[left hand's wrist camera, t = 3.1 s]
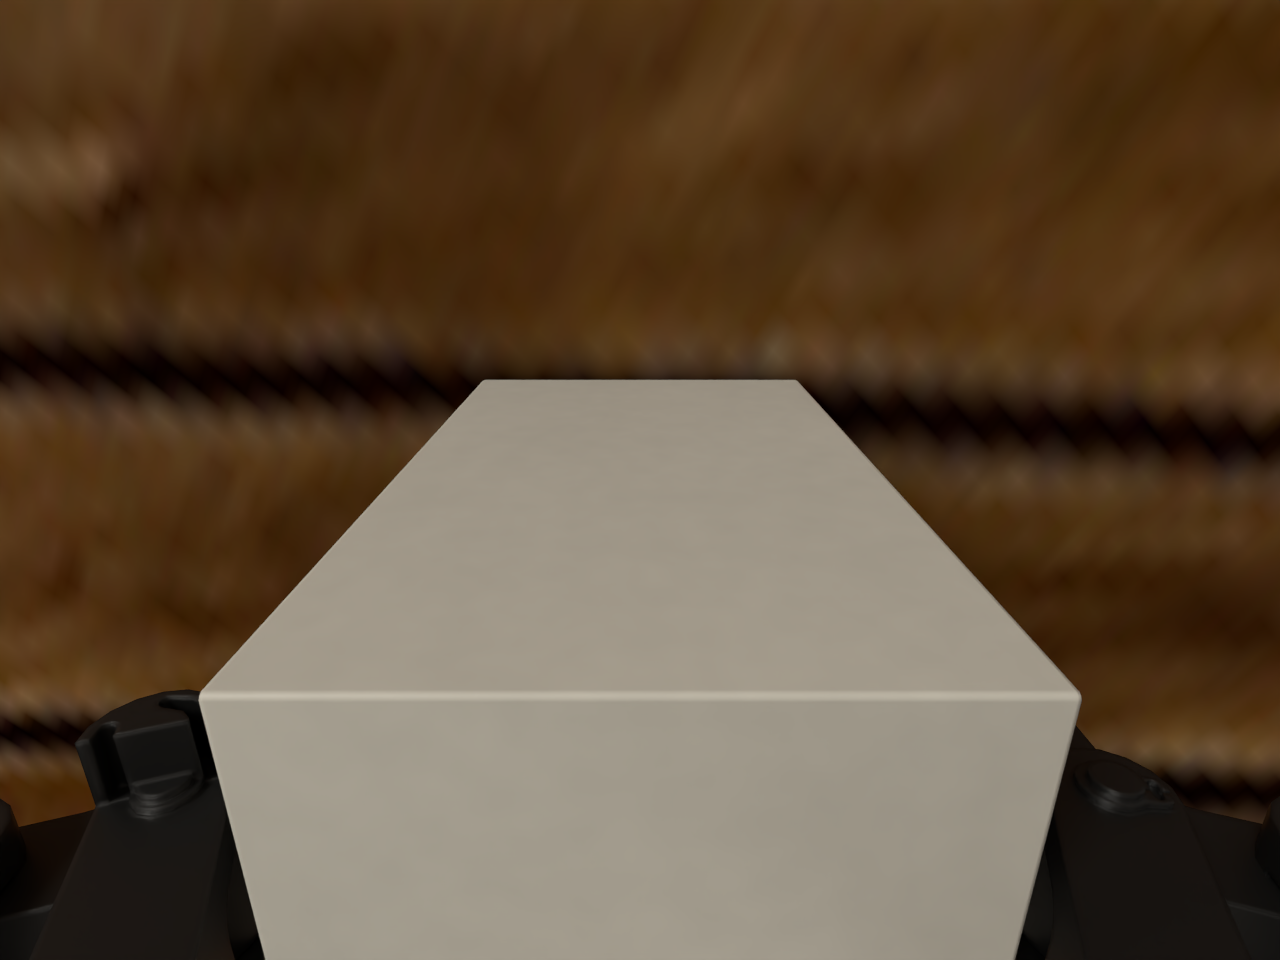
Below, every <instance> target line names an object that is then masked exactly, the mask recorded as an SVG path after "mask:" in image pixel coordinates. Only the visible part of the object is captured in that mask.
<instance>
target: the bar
mask: <svg viewBox="0 0 1280 960" xmlns="http://www.w3.org/2000/svg"><path fill="white" fill-rule="evenodd" d="M1081 701H1082V699H1081V694H1080V692H1079V691H1078V690H1077V689H1076V687H1075V686H1074V685H1073V684H1072V683H1071V682H1070V681H1069V680H1068V679H1067V677H1066V676H1065V675H1064V674H1063V673H1062V672H1061V671H1060V670H1059V669H1058V668H1057V666H1056V665H1055V664H1054V663H1053V662H1052V661H1051V660H1050V659H1049V658H1048V657H1047V655H1046V654H1045V653H1044V652H1043V651H1042V650H1041V649H1040V648H1039V647H1038V646H1037V644H1036V643H1035V642H1034V641H1033V640H1032V639H1031V638H1030V637H1029V636H1028V635H1027V633H1026V632H1025V631H1024V630H1023V629H1022V628H1021V627H1020V626H1019V625H1018V623H1017V622H1016V621H1015V620H1014V619H1013V618H1012V617H1011V616H1010V615H1009V614H1008V612H1007V611H1006V610H1005V609H1004V608H1003V607H1002V606H1001V605H1000V604H999V603H998V601H997V600H996V599H995V598H994V597H993V596H992V595H991V594H990V593H989V592H988V590H987V589H986V588H985V587H984V586H983V585H982V584H981V583H980V582H979V581H978V579H977V578H976V577H975V576H974V575H973V574H972V573H971V572H970V571H969V569H968V568H967V567H966V566H965V565H964V564H963V563H962V562H961V561H960V560H959V558H958V557H957V556H956V555H955V554H954V553H953V552H952V551H951V550H950V549H949V547H948V546H947V545H946V544H945V543H944V542H943V541H942V540H941V539H940V538H939V536H938V535H937V534H936V533H935V532H934V531H933V530H932V529H931V528H930V527H929V525H928V524H927V523H926V522H925V521H924V520H923V519H922V518H921V517H920V515H919V514H918V513H917V512H916V511H915V510H914V509H913V508H912V507H911V506H910V504H909V503H908V502H907V501H906V500H905V499H904V498H903V497H902V496H901V495H900V493H899V492H898V491H897V490H896V489H895V488H894V487H893V486H892V485H891V484H890V482H889V481H888V480H887V479H886V478H885V477H884V476H883V475H882V474H881V473H880V471H879V470H878V469H877V468H876V467H875V466H874V465H873V464H872V463H871V461H870V460H869V459H868V458H867V457H866V456H865V455H864V454H863V453H862V452H861V450H860V449H859V448H858V447H857V446H856V445H855V444H854V443H853V442H852V441H851V439H850V438H849V437H848V436H847V435H846V434H845V433H844V432H843V431H842V430H841V428H840V427H839V426H838V425H837V424H836V423H835V422H834V421H833V420H832V419H831V417H830V416H829V415H828V414H827V413H826V412H825V411H824V410H823V409H822V407H821V406H820V405H819V404H818V403H817V402H816V401H815V400H814V399H813V398H812V396H811V395H810V394H809V393H808V392H807V391H806V390H805V389H804V388H803V387H802V385H801V384H800V383H799V382H798V381H797V380H484V381H482V382H481V384H480V385H479V386H478V387H477V388H476V389H475V390H474V391H473V392H472V393H471V395H470V396H469V397H468V398H467V399H466V400H465V401H464V402H463V403H462V404H461V406H460V407H459V408H458V409H457V410H456V411H455V412H454V413H453V414H452V415H451V417H450V418H449V419H448V420H447V421H446V422H445V423H444V424H443V425H442V427H441V428H440V429H439V430H438V431H437V432H436V433H435V434H434V435H433V436H432V438H431V439H430V440H429V441H428V442H427V443H426V444H425V445H424V446H423V447H422V449H421V450H420V451H419V452H418V453H417V454H416V455H415V456H414V457H413V458H412V460H411V461H410V462H409V463H408V464H407V465H406V466H405V467H404V468H403V469H402V471H401V472H400V473H399V474H398V475H397V476H396V477H395V478H394V479H393V481H392V482H391V483H390V484H389V485H388V486H387V487H386V488H385V489H384V490H383V492H382V493H381V494H380V495H379V496H378V497H377V498H376V499H375V500H374V501H373V503H372V504H371V505H370V506H369V507H368V508H367V509H366V510H365V511H364V512H363V514H362V515H361V516H360V517H359V518H358V519H357V520H356V521H355V522H354V523H353V525H352V526H351V527H350V528H349V529H348V530H347V531H346V532H345V533H344V535H343V536H342V537H341V538H340V539H339V540H338V541H337V542H336V543H335V544H334V546H333V547H332V548H331V549H330V550H329V551H328V552H327V553H326V554H325V555H324V557H323V558H322V559H321V560H320V561H319V562H318V563H317V564H316V565H315V566H314V568H313V569H312V570H311V571H310V572H309V573H308V574H307V575H306V576H305V577H304V579H303V580H302V581H301V582H300V583H299V584H298V585H297V586H296V587H295V589H294V590H293V591H292V592H291V593H290V594H289V595H288V596H287V597H286V598H285V600H284V601H283V602H282V603H281V604H280V605H279V606H278V607H277V608H276V609H275V611H274V612H273V613H272V614H271V615H270V616H269V617H268V618H267V619H266V620H265V622H264V623H263V624H262V625H261V626H260V627H259V628H258V629H257V630H256V631H255V633H254V634H253V635H252V636H251V637H250V638H249V639H248V640H247V641H246V643H245V644H244V645H243V646H242V647H241V648H240V649H239V650H238V651H237V652H236V654H235V655H234V656H233V657H232V658H231V659H230V660H229V661H228V662H227V663H226V665H225V666H224V667H223V668H222V669H221V670H220V671H219V672H218V673H217V674H216V676H215V677H214V678H213V679H212V680H211V681H210V682H209V683H208V684H207V685H206V687H205V688H204V689H203V690H202V691H201V693H200V695H199V704H200V708H201V712H202V716H203V719H204V723H205V727H206V731H207V735H208V739H209V743H210V747H211V751H212V754H213V758H214V762H215V766H216V770H217V774H218V778H219V782H220V786H221V789H222V793H223V797H224V801H225V805H226V809H227V813H228V817H229V820H230V824H231V828H232V832H233V836H234V840H235V844H236V848H237V852H238V855H239V859H240V863H241V867H242V871H243V875H244V879H245V883H246V887H247V890H248V894H249V898H250V902H251V906H252V910H253V914H254V918H255V921H256V925H257V929H258V933H259V937H260V941H261V945H262V949H263V953H264V956H265V960H1015V958H1016V954H1017V950H1018V946H1019V942H1020V938H1021V934H1022V930H1023V927H1024V923H1025V919H1026V915H1027V911H1028V907H1029V903H1030V899H1031V896H1032V892H1033V888H1034V884H1035V880H1036V876H1037V872H1038V868H1039V864H1040V861H1041V857H1042V853H1043V849H1044V845H1045V841H1046V837H1047V833H1048V830H1049V826H1050V822H1051V818H1052V814H1053V810H1054V806H1055V802H1056V798H1057V795H1058V791H1059V787H1060V783H1061V779H1062V775H1063V771H1064V767H1065V764H1066V760H1067V756H1068V752H1069V748H1070V744H1071V740H1072V736H1073V732H1074V729H1075V725H1076V721H1077V717H1078V713H1079V709H1080V705H1081Z"/></svg>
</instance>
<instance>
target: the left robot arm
mask: <svg viewBox="0 0 1280 960" xmlns="http://www.w3.org/2000/svg"><path fill="white" fill-rule="evenodd" d="M200 693H201V692H200V691H194V690H178V691H166V692H161V693H158V694H154V695H150V696H147V697H143V698H139V699H136V700H134V701H132V702H130V703H128V704H125V705H123V706H121V707H119V708H117V709H114V710H112V711H110V712H109V713H107V714H106V715H105V716H103V717H102V718H100V719H99V720H97V721H96V722H95V723H93V724H92V725H90V726H89V727H88V728H87V729H86V730H85V732H84V733H83V734H82V735H81V736H80V738H79V739H78V740H77V741H76V742H75V746H76V749H77V751H78V754H79V757H80V760H81V763H82V766H83V769H84V772H85V775H86V778H87V781H88V784H89V787H90V790H91V793H92V796H93V799H94V802H95V805H96V807H95V809H94V810H91V811H87V812H84V813H79V814H75V815H71V816H66V817H62V818H57V819H53V820H48V821H44V822H39V823H35V824H31V825H26V826H22V827H18V824H17V822H16V819H15V816H14V814H13V811H12V809H11V806H10V805H9V804H7V803H6V802H4V801H3V800H2V799H0V960H265V956H264V953H263V949H262V945H261V941H260V937H259V933H258V929H257V925H256V921H255V918H254V914H253V910H252V906H251V902H250V898H249V894H248V890H247V887H246V883H245V879H244V875H243V871H242V867H241V863H240V859H239V855H238V852H237V848H236V844H235V840H234V836H233V832H232V828H231V824H230V820H229V817H228V813H227V809H226V805H225V801H224V797H223V793H222V789H221V786H220V782H219V778H218V774H217V770H216V766H215V762H214V758H213V754H212V751H211V747H210V743H209V739H208V735H207V731H206V727H205V723H204V719H203V716H202V712H201V708H200V704H199V695H200ZM1015 960H1280V796H1279V797H1278V798H1277V799H1275V800H1274V801H1272V802H1271V804H1270V806H1269V809H1268V811H1267V814H1266V816H1265V819H1264V822H1263V824H1260V823H1255V822H1251V821H1246V820H1242V819H1237V818H1233V817H1228V816H1224V815H1219V814H1215V813H1210V812H1206V811H1201V810H1197V809H1193V808H1190V807H1187V806H1184V804H1183V803H1182V801H1181V800H1180V799H1179V797H1178V796H1177V794H1176V793H1175V792H1174V790H1173V789H1172V787H1170V786H1169V785H1168V784H1167V783H1165V782H1164V781H1163V780H1162V779H1160V778H1159V777H1158V776H1157V775H1156V774H1154V773H1153V772H1152V771H1150V770H1148V769H1147V768H1145V767H1143V766H1141V765H1139V764H1137V763H1135V762H1133V761H1131V760H1129V759H1127V758H1125V757H1122V756H1119V755H1116V754H1112V753H1109V752H1106V751H1103V750H1098V749H1095V748H1094V747H1093V745H1092V744H1091V743H1090V742H1089V741H1088V739H1087V738H1086V737H1085V736H1084V735H1083V734H1082V732H1081V731H1080V730H1079V729H1078V728H1077V726H1076V725H1075V729H1074V732H1073V736H1072V740H1071V744H1070V748H1069V752H1068V756H1067V760H1066V764H1065V767H1064V771H1063V775H1062V779H1061V783H1060V787H1059V791H1058V795H1057V798H1056V802H1055V806H1054V810H1053V814H1052V818H1051V822H1050V826H1049V830H1048V833H1047V837H1046V841H1045V845H1044V849H1043V853H1042V857H1041V861H1040V864H1039V868H1038V872H1037V876H1036V880H1035V884H1034V888H1033V892H1032V896H1031V899H1030V903H1029V907H1028V911H1027V915H1026V919H1025V923H1024V927H1023V930H1022V934H1021V938H1020V942H1019V946H1018V950H1017V954H1016V958H1015Z"/></svg>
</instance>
